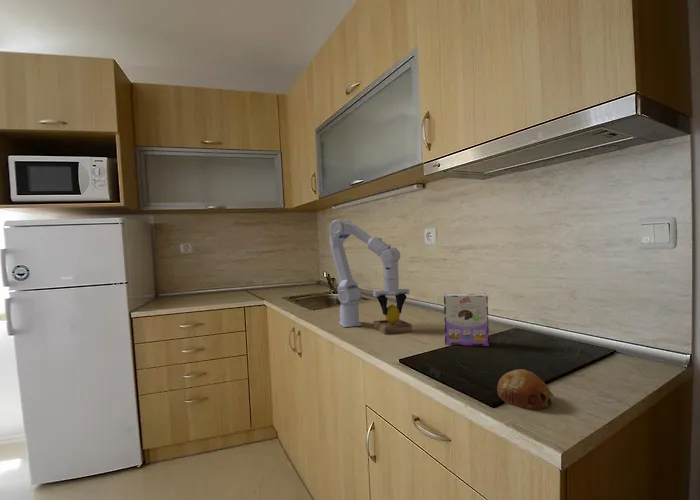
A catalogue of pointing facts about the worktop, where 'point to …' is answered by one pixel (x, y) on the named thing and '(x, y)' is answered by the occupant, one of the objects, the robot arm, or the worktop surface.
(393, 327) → the base
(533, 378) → the reddish brown rounded lump
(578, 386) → the worktop surface
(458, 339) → the candy box
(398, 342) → the worktop surface
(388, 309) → the lemon
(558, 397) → the worktop surface
